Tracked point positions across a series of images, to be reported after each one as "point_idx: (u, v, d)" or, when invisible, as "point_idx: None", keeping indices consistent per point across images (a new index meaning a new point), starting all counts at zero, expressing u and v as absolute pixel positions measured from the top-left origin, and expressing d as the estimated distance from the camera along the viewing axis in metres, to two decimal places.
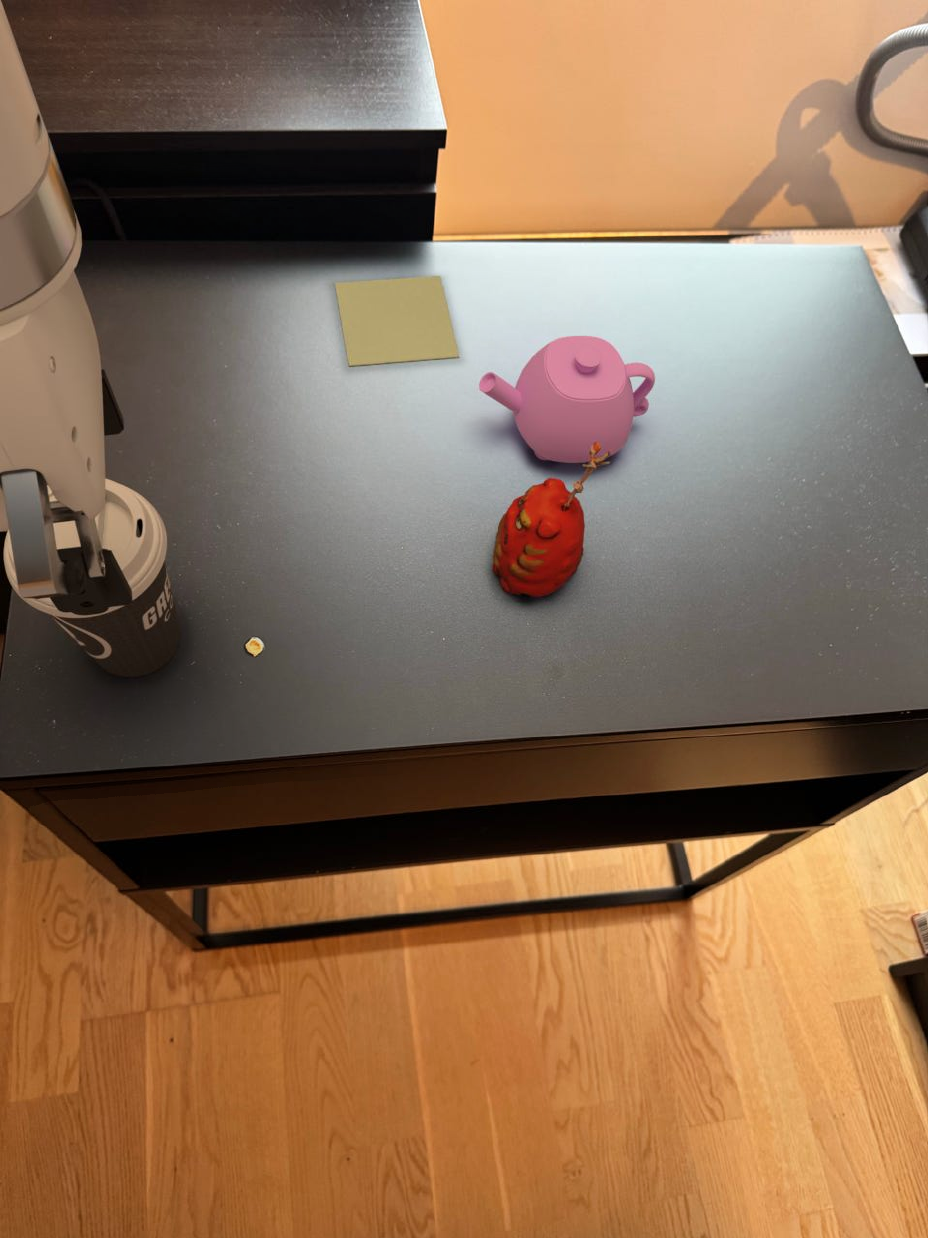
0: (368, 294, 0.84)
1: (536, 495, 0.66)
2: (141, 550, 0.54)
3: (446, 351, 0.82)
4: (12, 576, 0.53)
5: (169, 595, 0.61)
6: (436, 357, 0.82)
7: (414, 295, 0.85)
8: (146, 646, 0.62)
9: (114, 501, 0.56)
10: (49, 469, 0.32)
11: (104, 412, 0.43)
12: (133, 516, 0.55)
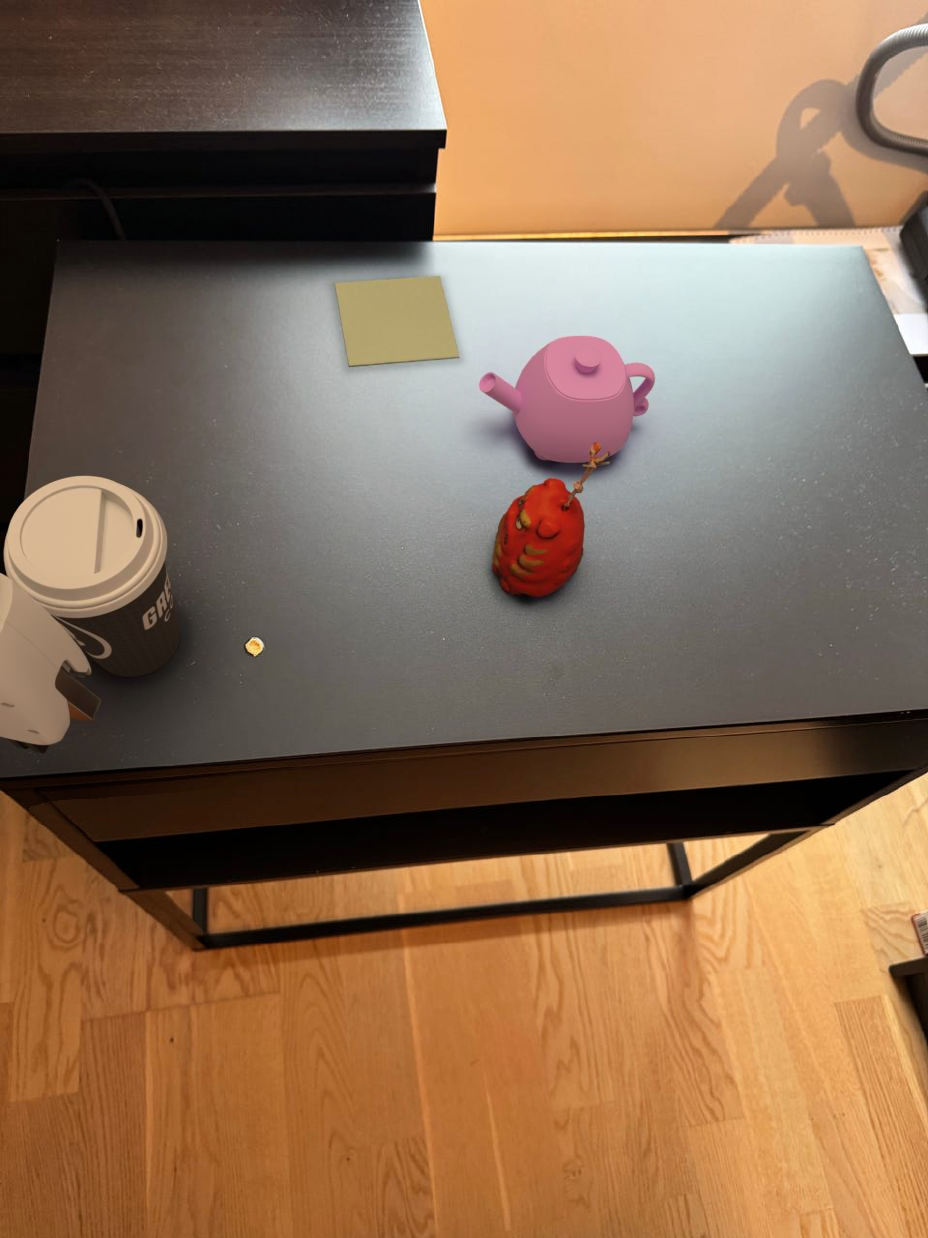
0: (368, 294, 0.84)
1: (536, 495, 0.66)
2: (141, 550, 0.54)
3: (446, 351, 0.82)
4: (12, 576, 0.53)
5: (169, 595, 0.61)
6: (436, 357, 0.82)
7: (414, 295, 0.85)
8: (146, 646, 0.62)
9: (114, 501, 0.56)
10: (68, 653, 0.45)
11: None
12: (133, 516, 0.55)
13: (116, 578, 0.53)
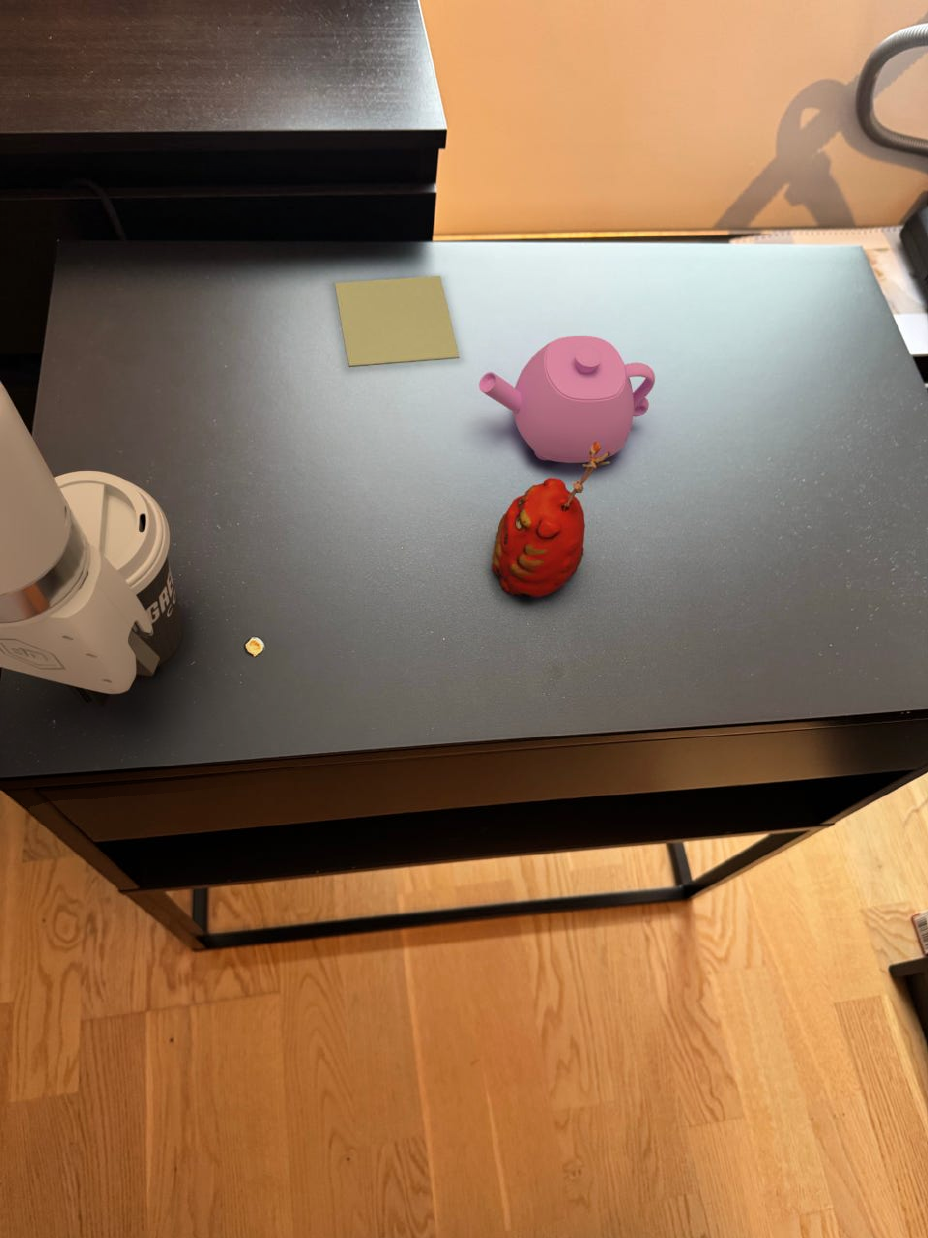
0: (368, 294, 0.84)
1: (536, 495, 0.66)
2: (144, 545, 0.54)
3: (446, 351, 0.82)
4: None
5: (172, 590, 0.61)
6: (436, 357, 0.82)
7: (414, 295, 0.85)
8: (148, 641, 0.62)
9: (117, 496, 0.56)
10: (138, 615, 0.53)
11: None
12: (136, 511, 0.55)
13: None
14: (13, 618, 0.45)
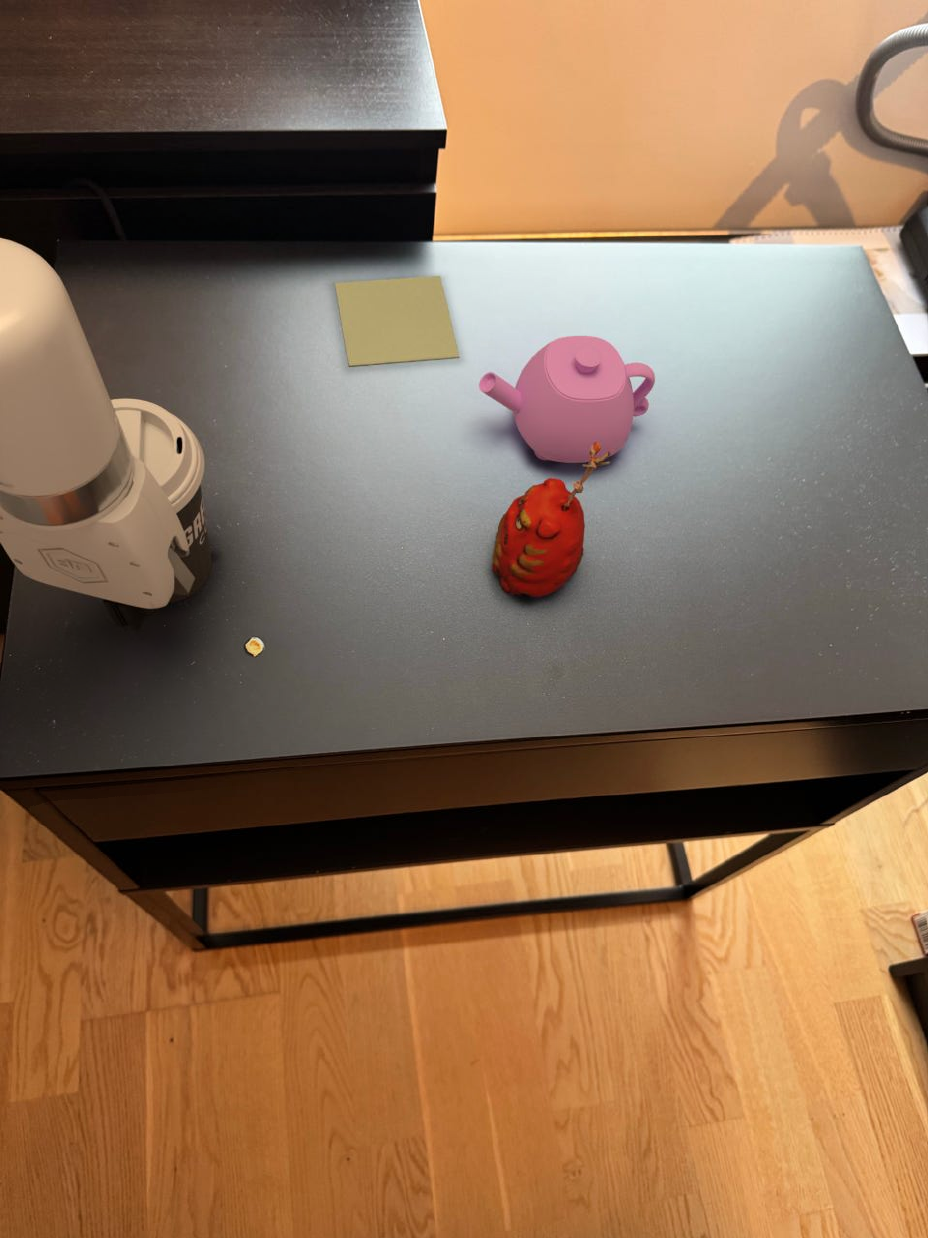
0: (368, 294, 0.84)
1: (536, 495, 0.66)
2: (182, 465, 0.57)
3: (446, 351, 0.82)
4: None
5: (204, 518, 0.64)
6: (436, 357, 0.82)
7: (414, 295, 0.85)
8: None
9: (153, 423, 0.59)
10: (177, 530, 0.55)
11: None
12: (173, 434, 0.57)
13: None
14: (64, 520, 0.48)
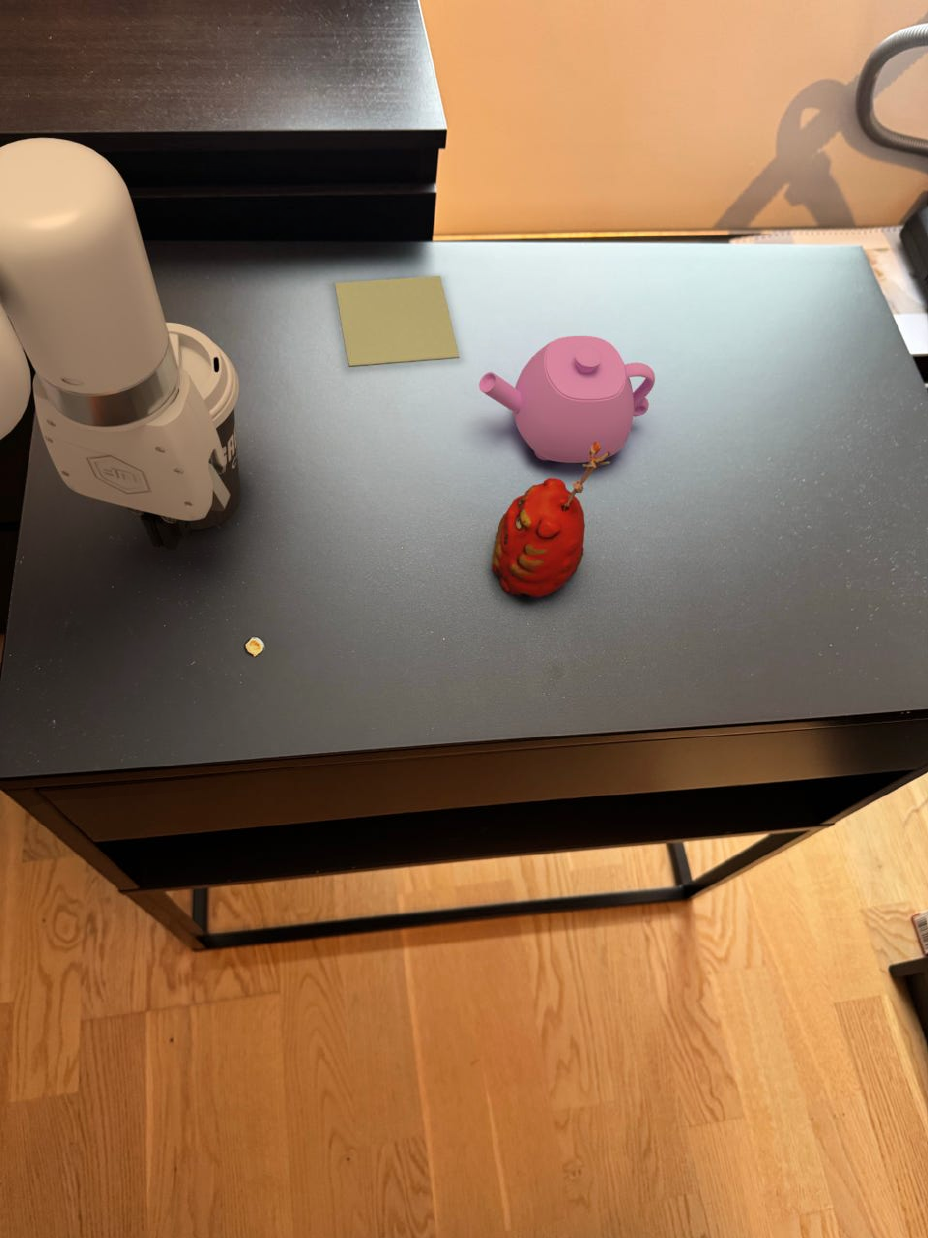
0: (368, 294, 0.84)
1: (536, 495, 0.66)
2: (219, 383, 0.60)
3: (446, 351, 0.82)
4: None
5: None
6: (436, 357, 0.82)
7: (414, 295, 0.85)
8: None
9: (189, 346, 0.62)
10: (216, 444, 0.58)
11: None
12: (209, 355, 0.61)
13: None
14: (116, 421, 0.51)
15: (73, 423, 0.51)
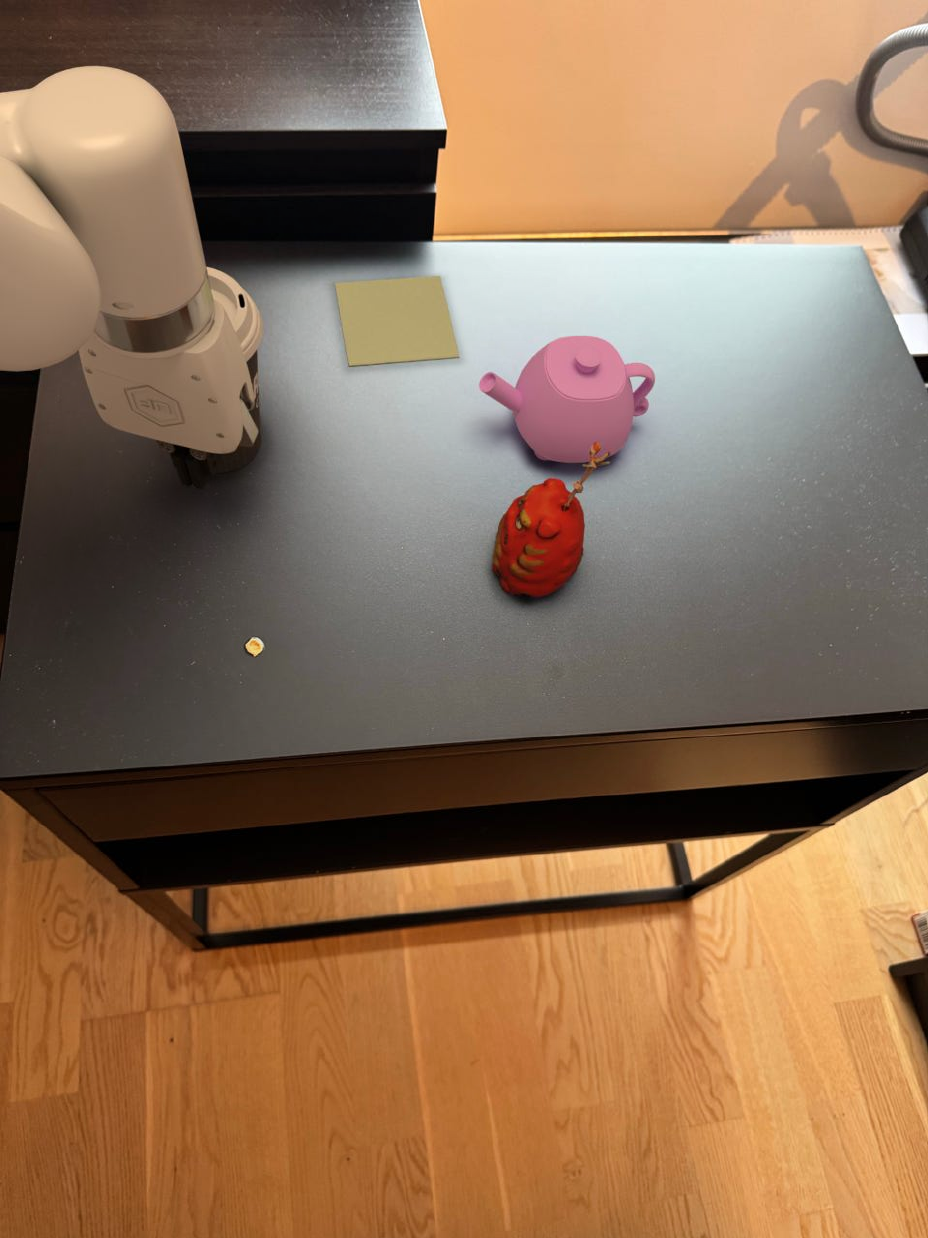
0: (368, 294, 0.84)
1: (536, 495, 0.66)
2: (246, 318, 0.63)
3: (446, 351, 0.82)
4: None
5: (258, 382, 0.70)
6: (436, 357, 0.82)
7: (414, 295, 0.85)
8: None
9: (211, 287, 0.65)
10: (247, 378, 0.61)
11: None
12: (234, 292, 0.63)
13: None
14: (156, 347, 0.53)
15: (114, 350, 0.54)
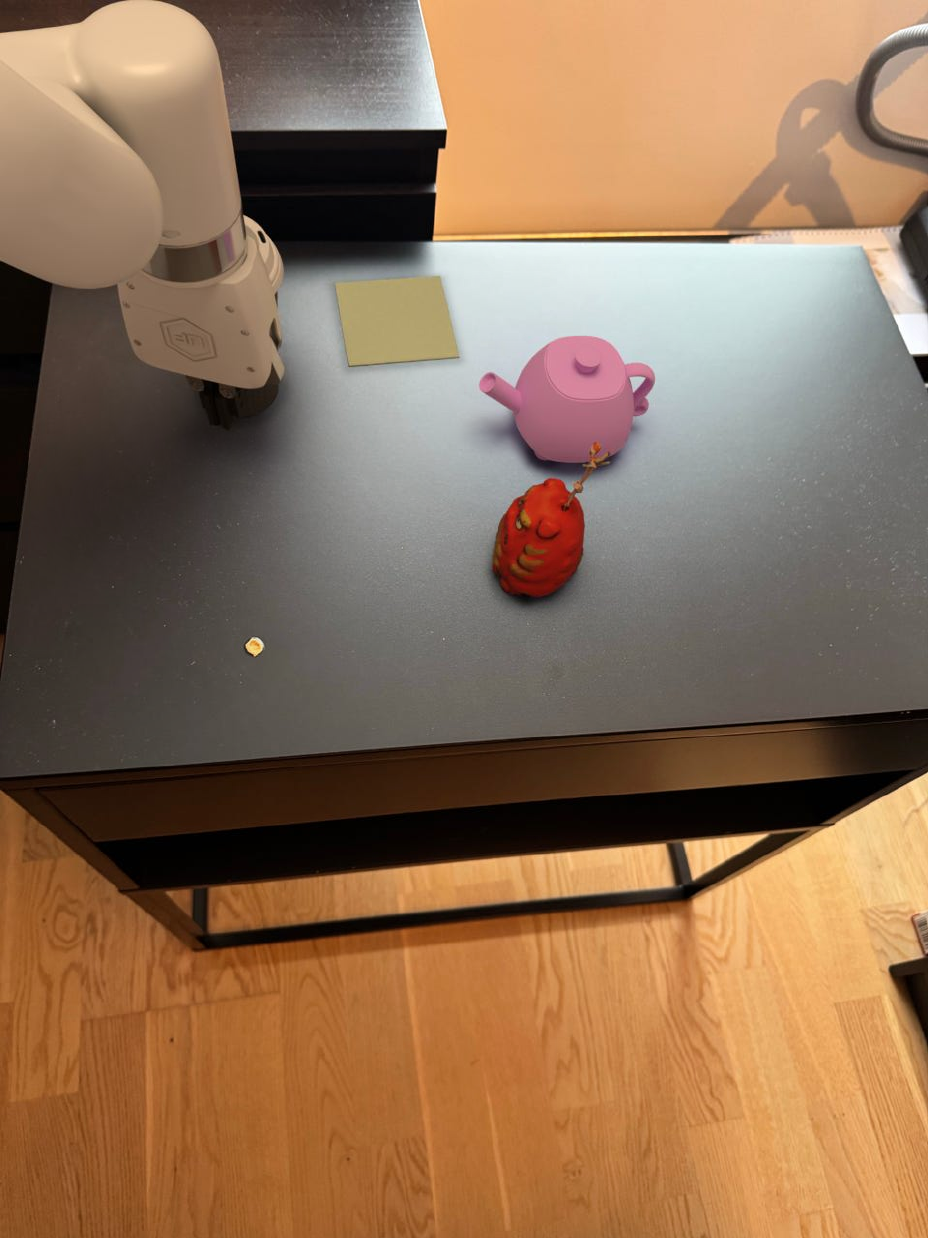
0: (368, 294, 0.84)
1: (536, 495, 0.66)
2: (270, 252, 0.65)
3: (446, 351, 0.82)
4: None
5: None
6: (436, 357, 0.82)
7: (414, 295, 0.85)
8: None
9: None
10: (276, 314, 0.64)
11: None
12: (253, 229, 0.66)
13: None
14: (194, 277, 0.56)
15: (154, 280, 0.57)
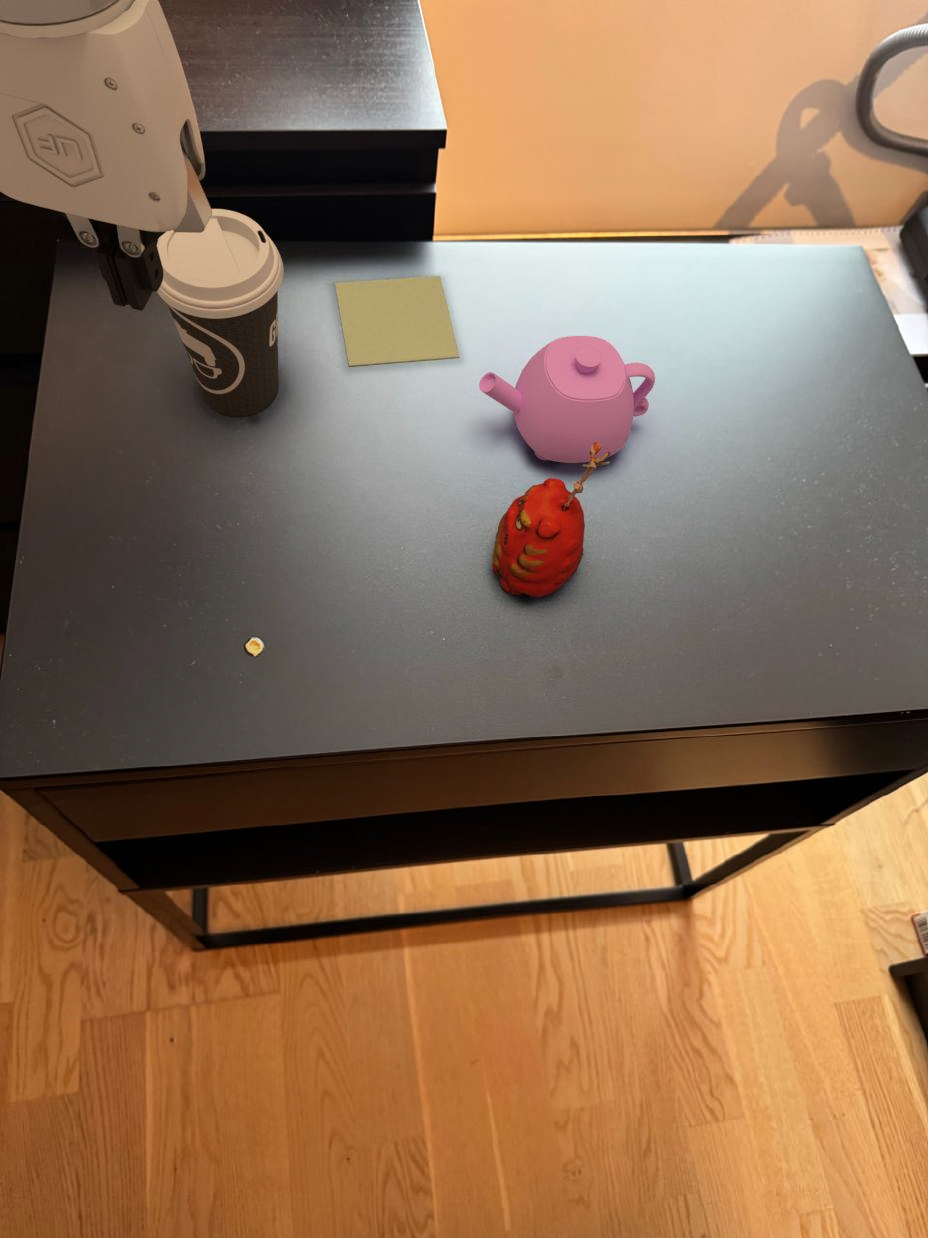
0: (368, 294, 0.84)
1: (536, 495, 0.66)
2: (270, 252, 0.65)
3: (446, 351, 0.82)
4: (172, 293, 0.64)
5: None
6: (436, 357, 0.82)
7: (414, 295, 0.85)
8: (267, 368, 0.73)
9: (227, 229, 0.67)
10: (191, 115, 0.43)
11: None
12: (253, 229, 0.66)
13: (259, 274, 0.65)
14: (45, 15, 0.36)
15: None
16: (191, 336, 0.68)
